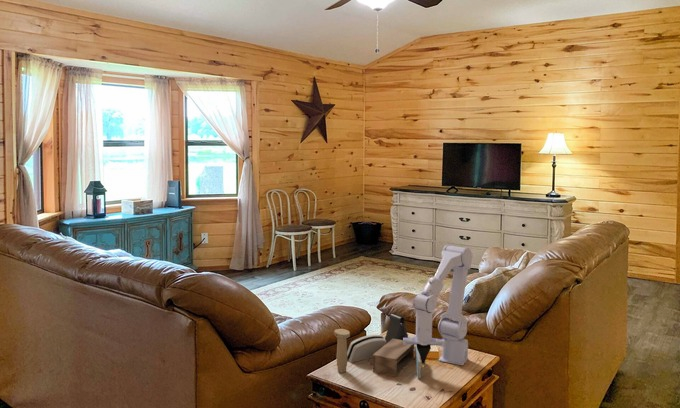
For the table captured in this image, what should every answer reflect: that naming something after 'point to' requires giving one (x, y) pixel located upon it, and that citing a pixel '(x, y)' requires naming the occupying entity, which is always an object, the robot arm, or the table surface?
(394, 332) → the phone stand
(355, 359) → the grey curved piece
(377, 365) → the cabinet
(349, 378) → the table surface
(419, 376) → the door
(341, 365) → the handle
